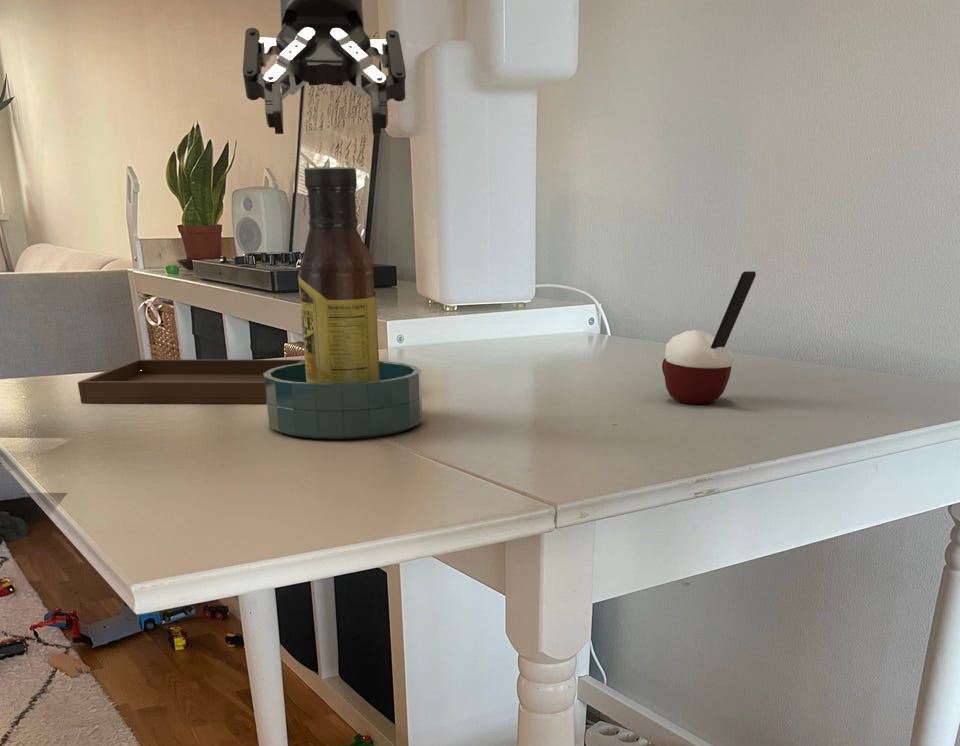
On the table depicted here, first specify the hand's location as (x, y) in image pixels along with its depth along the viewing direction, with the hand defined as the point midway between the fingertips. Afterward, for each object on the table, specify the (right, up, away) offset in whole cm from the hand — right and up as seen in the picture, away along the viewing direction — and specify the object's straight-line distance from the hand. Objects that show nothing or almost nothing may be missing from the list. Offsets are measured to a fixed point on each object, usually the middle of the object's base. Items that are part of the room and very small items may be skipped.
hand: (328, 126), depth 85 cm
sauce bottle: (+2, -26, 0) cm, 26 cm away
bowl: (+2, -26, 0) cm, 26 cm away
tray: (-16, -19, +16) cm, 29 cm away
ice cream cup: (+34, -22, +8) cm, 42 cm away
